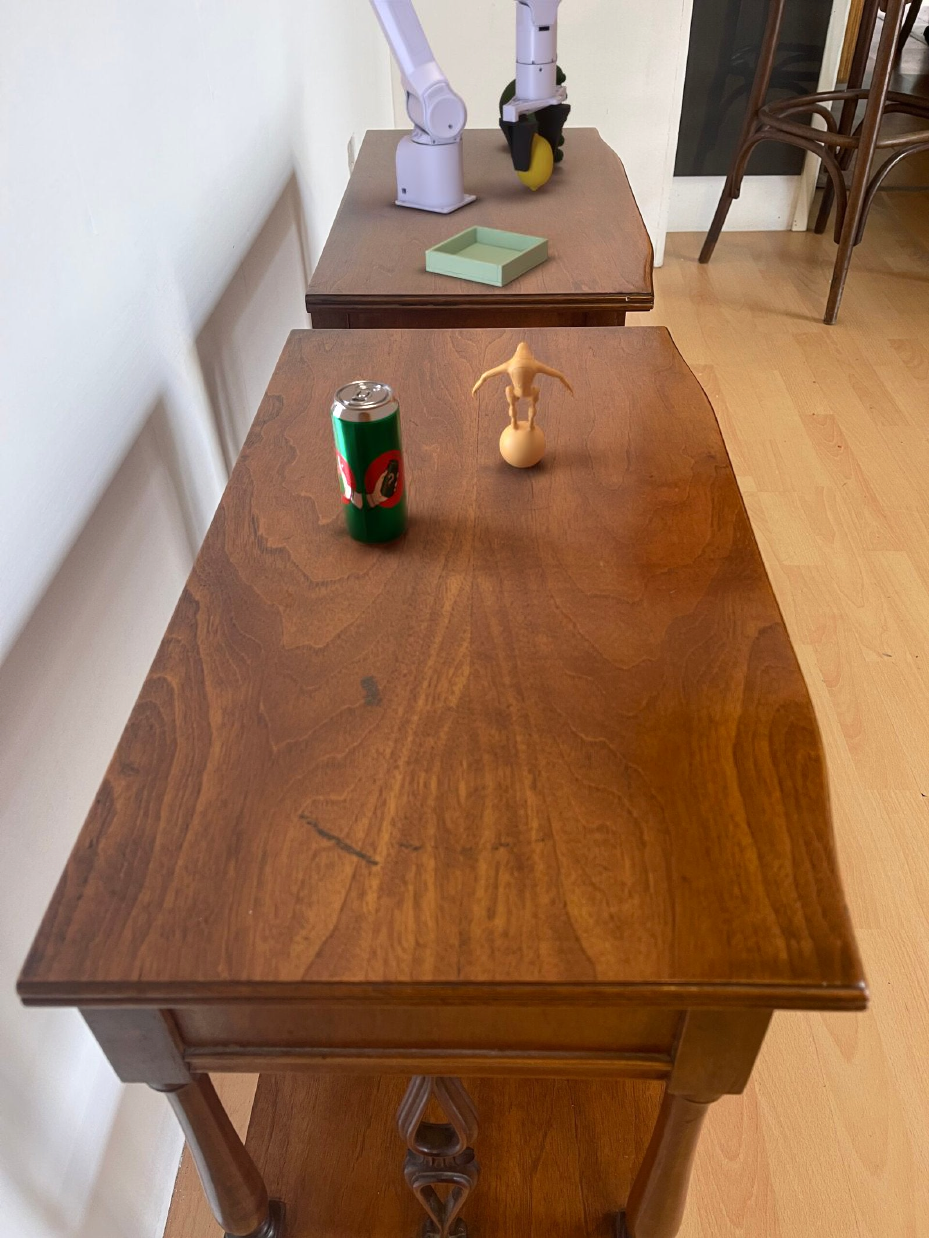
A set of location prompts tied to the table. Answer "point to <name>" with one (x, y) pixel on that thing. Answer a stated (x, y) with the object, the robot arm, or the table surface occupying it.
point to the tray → (487, 255)
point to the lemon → (538, 164)
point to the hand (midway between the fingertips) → (534, 164)
